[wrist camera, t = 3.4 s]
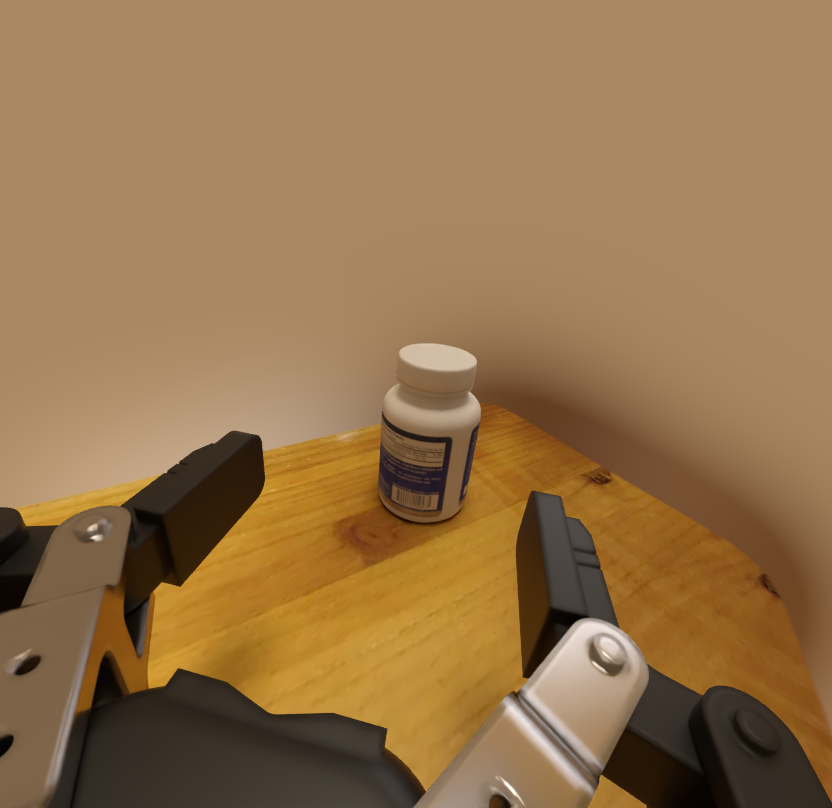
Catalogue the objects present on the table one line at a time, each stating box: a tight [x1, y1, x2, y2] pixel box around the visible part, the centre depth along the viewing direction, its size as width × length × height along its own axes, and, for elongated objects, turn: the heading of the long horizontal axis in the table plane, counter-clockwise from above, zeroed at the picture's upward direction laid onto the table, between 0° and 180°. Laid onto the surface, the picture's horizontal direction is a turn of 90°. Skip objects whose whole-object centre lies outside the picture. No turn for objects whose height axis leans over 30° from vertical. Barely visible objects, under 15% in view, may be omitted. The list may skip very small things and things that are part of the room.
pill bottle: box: [378, 343, 481, 523], centre depth 21 cm, size 5×5×9 cm
